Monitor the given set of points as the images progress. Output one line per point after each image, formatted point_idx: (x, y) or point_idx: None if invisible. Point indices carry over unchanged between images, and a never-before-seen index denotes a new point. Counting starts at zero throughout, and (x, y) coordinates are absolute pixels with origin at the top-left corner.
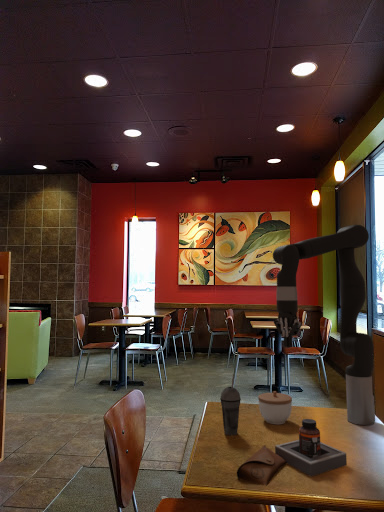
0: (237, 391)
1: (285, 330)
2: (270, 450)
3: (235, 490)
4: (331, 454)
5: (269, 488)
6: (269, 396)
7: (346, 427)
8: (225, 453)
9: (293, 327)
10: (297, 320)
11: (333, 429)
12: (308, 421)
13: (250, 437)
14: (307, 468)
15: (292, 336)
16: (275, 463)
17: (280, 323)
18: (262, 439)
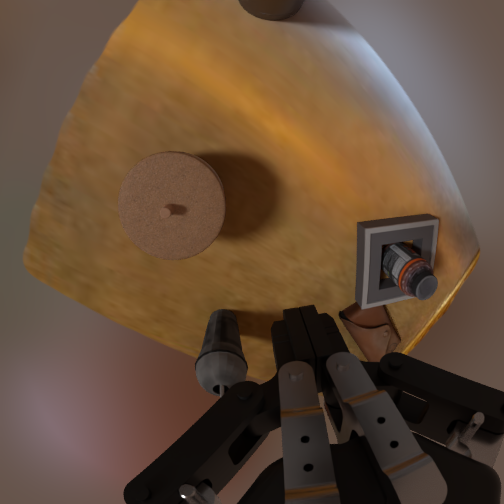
0: (234, 374)
1: (252, 411)
2: (361, 316)
3: None
4: (427, 242)
5: (407, 340)
6: (166, 227)
7: (293, 52)
8: None
9: (441, 433)
10: (495, 455)
11: (292, 90)
12: (429, 292)
13: (259, 297)
14: None
15: (360, 361)
16: (387, 322)
17: (218, 497)
18: (279, 281)
